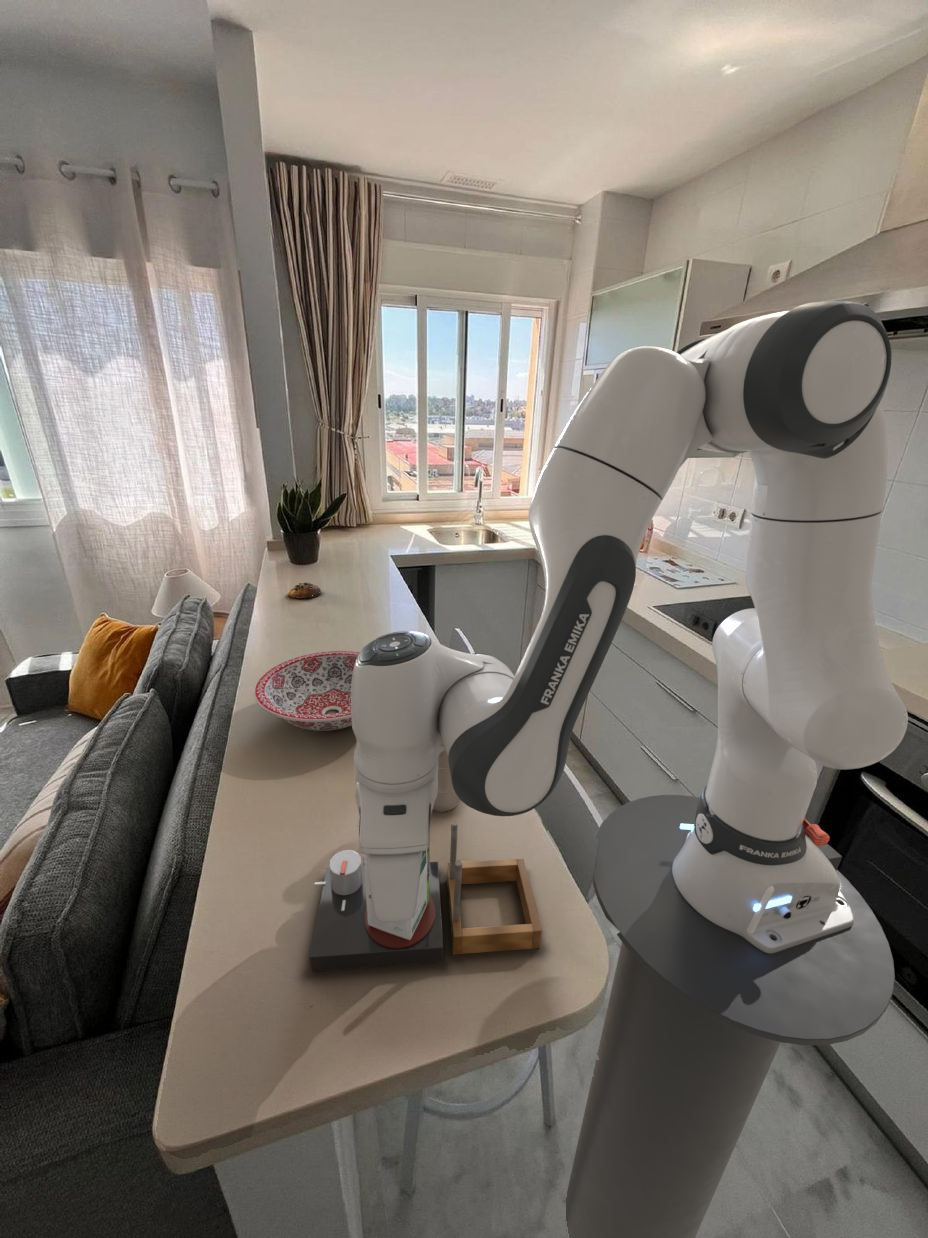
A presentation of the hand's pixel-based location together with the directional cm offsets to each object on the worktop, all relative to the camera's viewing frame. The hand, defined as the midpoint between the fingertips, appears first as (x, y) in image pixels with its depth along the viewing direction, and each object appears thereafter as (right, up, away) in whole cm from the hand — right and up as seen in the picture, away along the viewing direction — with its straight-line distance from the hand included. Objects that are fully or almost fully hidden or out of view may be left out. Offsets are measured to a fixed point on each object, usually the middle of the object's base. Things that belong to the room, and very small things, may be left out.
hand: (398, 874), depth 58 cm
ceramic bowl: (-20, +10, +48) cm, 53 cm away
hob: (-3, -8, +5) cm, 10 cm away
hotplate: (0, -6, +2) cm, 7 cm away
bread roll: (-49, +39, +118) cm, 134 cm away
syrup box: (0, -6, +2) cm, 7 cm away
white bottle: (+4, -1, +24) cm, 24 cm away
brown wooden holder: (+11, -8, +6) cm, 15 cm away
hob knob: (-8, -4, +6) cm, 11 cm away
